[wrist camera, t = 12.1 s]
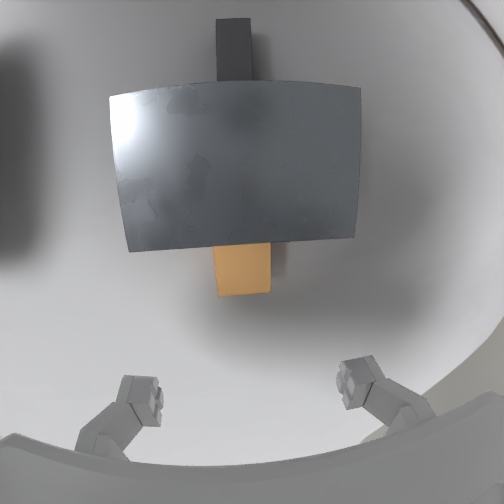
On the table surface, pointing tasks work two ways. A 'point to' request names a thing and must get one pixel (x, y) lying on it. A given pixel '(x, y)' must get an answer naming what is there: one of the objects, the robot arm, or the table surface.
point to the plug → (246, 255)
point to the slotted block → (236, 163)
